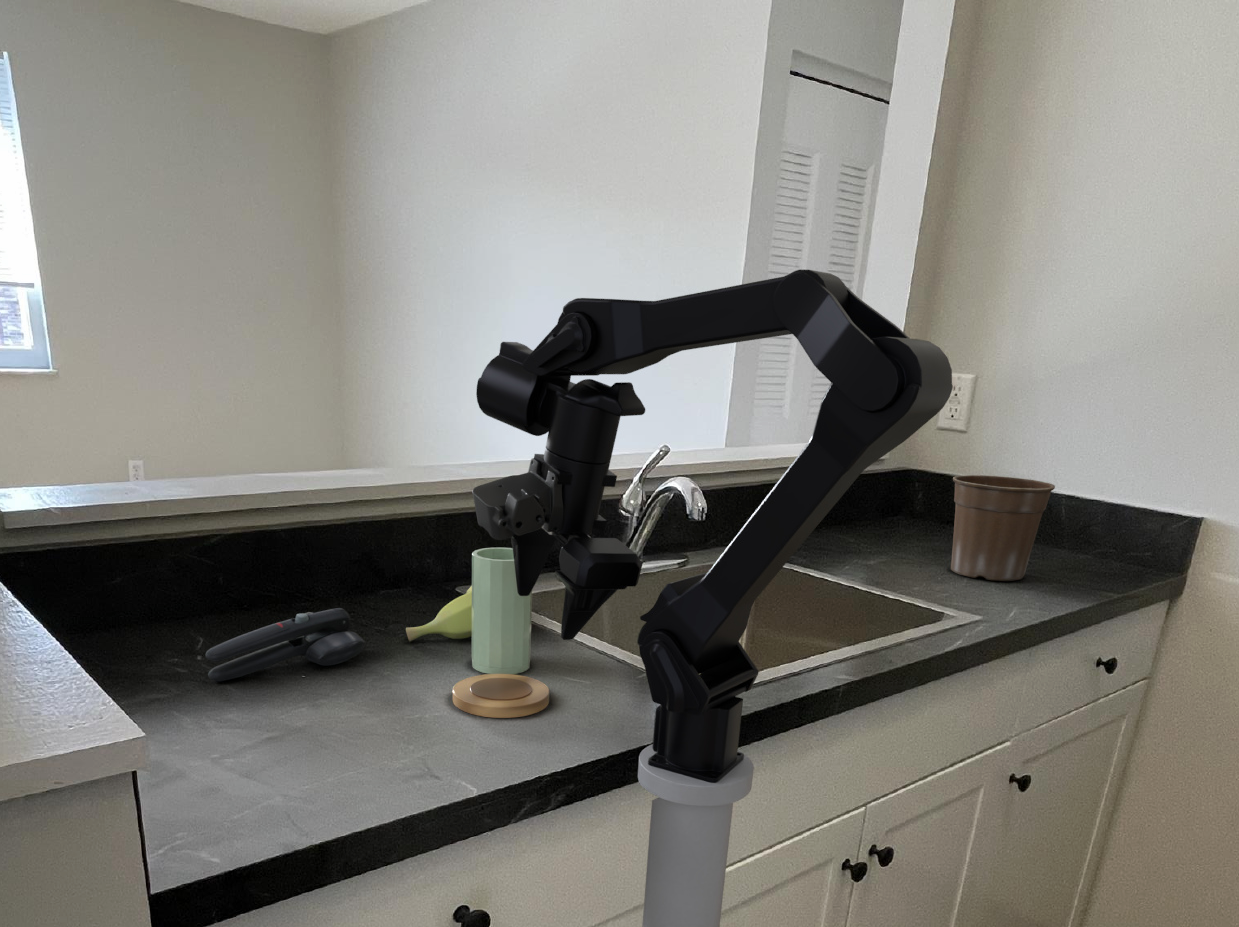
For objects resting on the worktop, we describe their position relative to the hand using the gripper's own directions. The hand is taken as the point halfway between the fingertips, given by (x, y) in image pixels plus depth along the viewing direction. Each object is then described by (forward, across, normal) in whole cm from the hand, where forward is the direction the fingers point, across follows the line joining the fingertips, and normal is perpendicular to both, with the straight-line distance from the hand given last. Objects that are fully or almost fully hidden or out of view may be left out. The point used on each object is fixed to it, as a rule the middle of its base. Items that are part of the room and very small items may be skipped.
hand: (544, 616), depth 91 cm
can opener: (+18, -24, -17) cm, 34 cm away
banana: (+18, -32, +7) cm, 38 cm away
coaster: (+13, -6, +1) cm, 14 cm away
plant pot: (+9, -29, +105) cm, 109 cm away
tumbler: (+14, -16, +5) cm, 22 cm away
